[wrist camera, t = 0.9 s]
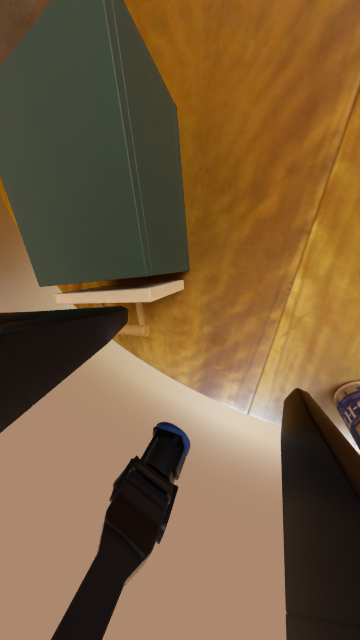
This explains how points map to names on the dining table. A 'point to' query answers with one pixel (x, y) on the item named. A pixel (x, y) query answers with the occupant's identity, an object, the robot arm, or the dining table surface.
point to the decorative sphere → (17, 22)
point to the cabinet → (91, 148)
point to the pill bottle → (350, 407)
